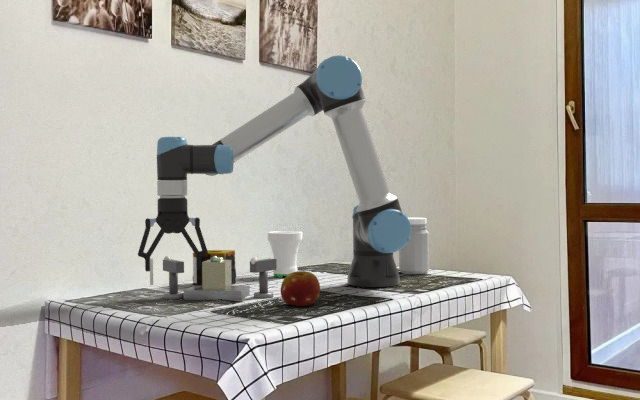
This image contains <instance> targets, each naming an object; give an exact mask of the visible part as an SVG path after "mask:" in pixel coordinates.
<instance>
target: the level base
mask: <svg viewBox="0 0 640 400" xmlns="http://www.w3.org/2000/svg"><path fill="white" fill-rule="evenodd" d="M250 288H251V287H250V285H233V284H231V260H223V257H216V256H213V257H212V258H211V260H207V261H204V262H202V285H194V286H193V285H192V286H190V287H187V288H186V289H185V288H184V290H183V293H184V297H183V300H187V301H188V300H191V301H192V300H193V301H195V300H196V301H199V300H201V301H242V299H243V300H244V299H245V297H246V298H247V297H248V295H249V296H250V294H251V291H250ZM205 299H206V300H205ZM218 299H219V300H218ZM220 299H222V300H220Z"/></svg>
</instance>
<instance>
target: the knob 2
mask: <svg viewBox="0 0 640 400" xmlns="http://www.w3.org/2000/svg"><path fill="white" fill-rule="evenodd" d="M273 270H276V259H274V258H271V257H269V258H263V259H258V258H257V257H256V256H255V257H253V256H252V258H250V261H249V273H255V274H257V273H258V281H259V282H258V291H255V292H253V298H255V299H272V298H273V297H274V292H272V291H269V275H268V274H269V273H268V272H269V271H270V272H271V271H273Z"/></svg>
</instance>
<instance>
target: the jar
mask: <svg viewBox="0 0 640 400" xmlns="http://www.w3.org/2000/svg"><path fill="white" fill-rule="evenodd" d="M407 218H408V219H409V221H410V224H411V236H410V239H409V241H408V243H407V244H406V245H405V246H404V247H403V248H402V249H401V250H399V251H398V270H399V271H400V273H401V274H402V275H403V274H405V275H425V274H427V273H428V271H429V270H430V232H429V231H428V230H427V228H428V226H426V225H427V223H428V221H427V220H428V219H427V218H426V217H407Z"/></svg>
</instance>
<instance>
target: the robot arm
mask: <svg viewBox="0 0 640 400" xmlns="http://www.w3.org/2000/svg"><path fill="white" fill-rule="evenodd" d="M362 84H363V73H362V70H361V68H360V66H359V64H358V63H357V62H356V61H355V60H353V59H352V58H350V57H348V56H346V55H342V54H341V55H338V54H337V55H332V56H330V57H328V58H325V59H324V60H322V61H321V62H320V63H319V65H318V66H317V67H316V69H315V70H313V72H312V73H311V74H310V75H309V76H308V77H307V78H306V79H305V80H303V82H302V83H300V84H298V85H297V86H295V87H294V91H293V93H291V94H290V95H288V96H286V97H284V98H283V99H282V100H280V101H278V102H277V103H276V104H274V105H272V106H270V107H269V108H267V109H265V111H263V112H261V113H259V114H258V115H257V116H255V117H254V118H252V119H250V120H249V121H246V123H244V124H243V125H241V126H239V127H237V128H236V129H235V130H233V131H232V132H230V133H228V134H227V135H225V136H224V137H222V138H220V139H219V140H218V141H215V142H214V143H212V144H200V145H199V144H197V145H196V144H188V141H187V138H186V137H184V136H163V137H160V138H158V139H157V144H156V145H157V146H156V175H157V180H156V183H157V187H156V188H157V190H156V193H157V194H156V195H157V196H158V197H159V198H158V199H157V215H156V217H155V218H154V217H153V218H145V221H144V223H145V229H144V232H143V236H142V239H141V242H140V245H139V249H138V253H137V257H139V258H143V259H144V264H145V265H144V268H145V272H146V273H147V272H149V285H150V286H154V258H152V257H151V256H152V255H153V254H154V251H155V250H156V249H157V246H158V245H159V242H160V241H161V239H162V237H163V236H164V234H168V235H169V234H170V235H171V234H180V233H181V234H182V236H183V237H184V239H185V240H186V243H187V244H188V246H189V247H190V248H191V250H192V253H195V255H196V257H193V256H192V284H193V283H197V270H200V269H201V257H202V256H204V255H207V254H208V251H207V250H208V248H207V245H206V243H205V239H204V237H203V236H204V235H203V232H202V230H201V226H200V225H201V219H200V217H189V214H188V199H187V197H186V196H188V174H189V175H193V174H194V175H207V176H211V177H212V176H217V175H228V174H229V175H230V174H232V173H233V171H234V163H236V162H237V161H239V160H241V159H242V158H243V157H245V156H246V155H249V154H250V153H251V152H254V151H255V150H256V149H258V148H260V147H262V146H263V145H264V144H266V143H267V142H269V141H270V140H272V139H273V138H275V137H277V136H278V135H280V134H281V133H283V132H284V131H286V130H287V129H289V128H291V127H293V126H294V125H296V124H297V123H299V122H300V121H302V120H303V119H305V118H307V117H308V116H311V117H314V116H316V115H317V114H319V113H321V112H322V111H323V113H324V115H326V116H327V117H328V118H330V119H331V120H332V123H333V126H334V128H335V129H334V130H335V133H336V135H337V138H338V141H339V144H340V147H341V150H342V153H343V156H344V159H345V162H346V165H347V168H348V172H349V174H350V177H351V180H352V184H353V187H354V191H355V193H356V195H357V198H358V202H359V204H358V205H355V206H354V207H353V209H352V216H351V217H352V244H353V245H352V247H353V248H352V250H353V252H352V255H353V256H352V260H351V264H350V267H349V271H348V273H347V285H349V286H353V287H359V288H362V287H363V288H385V287H387V288H388V287H389V288H390V287H395V286H398V285H400V280H401V279H400V274H399V271H398V270H399V269H398V267H397V265H396V261H395V259H394V253H396V252H399V250H401V249H402V248H403V247H404V246H405V245H406V244H407V243H408V241H409V239H410V236H411V224H410V221H409V219H408V218H409V217H408V216H407V215H406V214H405V213H404V212H403V211H402V208H401V204H400V201H399V198H398V196H397V195H394V194H392V193H391V192H390V189H389V186H388V183H387V180H386V177H385V174H384V170H383V168H382V165H381V161H380V158H379V155H378V152H377V150H376V146H375V142H374V141H373V137H372V134H371V131H370V128H369V125H368V122H367V119H366V116H365V112H364V109H363V108H364V105H365V104H366V103H365V102H366V101H367V100H366V97H365V93H364V91H363V87H362ZM155 223H156V224H157V225H158V227H160V230H159V232H158V233H157V235H156V237H155V238H154V240H153V242H151V243H152V244H151V245H150V247H149V248H148V250H147V252H145V248H146V245H147V241H148V238H149V235H150V231H151V227H152V228H153V227H154V225H155ZM189 223H191V225H192V226H193V227H194V229H195V230H194V231H195V233H196V235H197V239H198V241H199V245H200V248H201V250H200V252H199V249H198V248H197V245H196V244H195V242H194V241H193V239H192V238H191V237H190V235H189V233H188V232H187V230H186V227H187V225H188V224H189Z"/></svg>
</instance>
